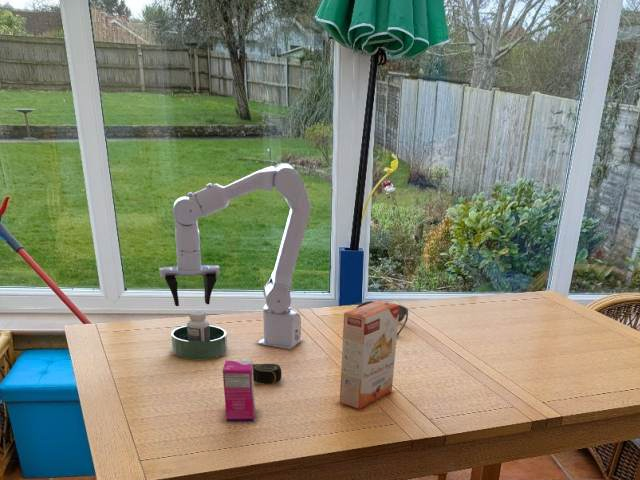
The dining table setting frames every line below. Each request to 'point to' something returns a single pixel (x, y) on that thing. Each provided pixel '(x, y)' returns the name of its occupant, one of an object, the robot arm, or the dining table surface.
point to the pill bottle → (198, 326)
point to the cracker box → (368, 353)
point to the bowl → (199, 344)
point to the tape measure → (266, 373)
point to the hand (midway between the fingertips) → (192, 304)
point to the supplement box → (239, 390)
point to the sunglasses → (402, 313)
